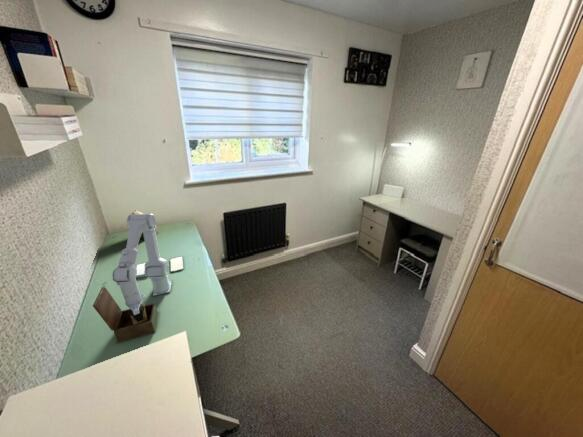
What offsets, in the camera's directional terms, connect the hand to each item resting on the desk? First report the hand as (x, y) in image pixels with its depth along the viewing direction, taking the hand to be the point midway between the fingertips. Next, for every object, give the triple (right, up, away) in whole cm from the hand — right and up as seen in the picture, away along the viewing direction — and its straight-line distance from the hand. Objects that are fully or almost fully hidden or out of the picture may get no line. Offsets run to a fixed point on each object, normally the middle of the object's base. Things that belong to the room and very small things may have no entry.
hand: (139, 316), depth 102 cm
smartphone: (-5, +14, +43) cm, 46 cm away
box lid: (-8, +7, -7) cm, 12 cm away
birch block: (0, -1, +1) cm, 1 cm away
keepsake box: (-1, -5, +1) cm, 5 cm away
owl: (-43, +29, +78) cm, 94 cm away
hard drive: (-22, +11, +37) cm, 45 cm away
